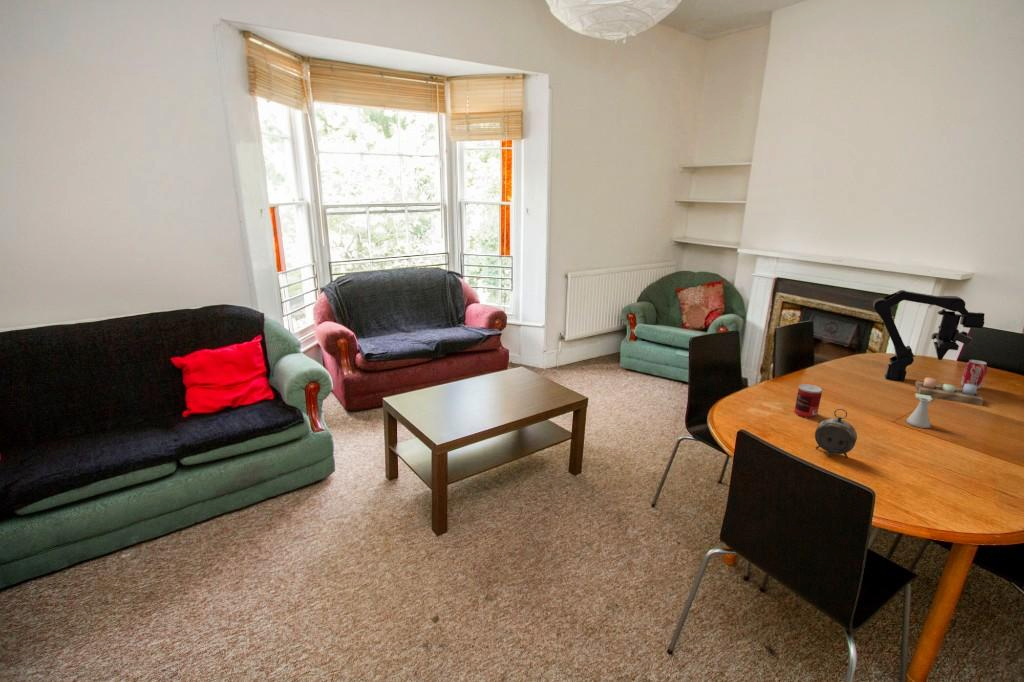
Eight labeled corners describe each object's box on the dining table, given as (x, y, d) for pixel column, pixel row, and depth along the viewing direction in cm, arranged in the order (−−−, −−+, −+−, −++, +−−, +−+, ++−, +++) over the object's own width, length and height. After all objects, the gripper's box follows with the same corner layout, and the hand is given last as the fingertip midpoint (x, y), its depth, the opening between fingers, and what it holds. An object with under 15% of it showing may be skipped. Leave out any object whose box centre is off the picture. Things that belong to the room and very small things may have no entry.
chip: (916, 398, 203) (917, 397, 203) (915, 394, 208) (915, 393, 207) (932, 401, 201) (932, 399, 201) (930, 397, 205) (930, 395, 205)
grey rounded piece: (962, 395, 203) (965, 385, 202) (960, 392, 206) (963, 382, 205) (975, 397, 201) (978, 387, 200) (973, 394, 204) (976, 384, 203)
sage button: (941, 395, 206) (944, 386, 205) (939, 392, 210) (942, 383, 208) (954, 397, 204) (956, 388, 203) (951, 394, 208) (954, 385, 206)
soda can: (985, 390, 213) (993, 364, 210) (969, 390, 213) (977, 364, 210) (971, 384, 220) (978, 359, 216) (955, 384, 220) (962, 359, 216)
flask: (925, 421, 182) (932, 397, 179) (934, 430, 176) (941, 404, 173) (902, 418, 185) (909, 394, 182) (910, 426, 178) (917, 401, 175)
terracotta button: (923, 388, 209) (925, 379, 208) (921, 386, 212) (924, 376, 211) (935, 390, 207) (937, 381, 206) (933, 387, 210) (936, 378, 209)
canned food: (815, 412, 189) (820, 385, 186) (818, 420, 182) (823, 393, 179) (793, 408, 192) (798, 382, 189) (794, 416, 185) (800, 389, 182)
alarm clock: (852, 457, 157) (863, 411, 152) (849, 464, 153) (860, 416, 148) (813, 446, 163) (823, 401, 159) (810, 452, 160) (819, 406, 155)
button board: (919, 394, 207) (920, 389, 206) (914, 386, 217) (916, 380, 216) (981, 405, 197) (983, 399, 197) (974, 395, 207) (975, 390, 206)
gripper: (979, 333, 199) (968, 369, 203) (968, 323, 214) (958, 357, 219) (944, 329, 204) (934, 364, 209) (935, 320, 220) (926, 353, 224)
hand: (939, 359), depth 215 cm, fingers closed
